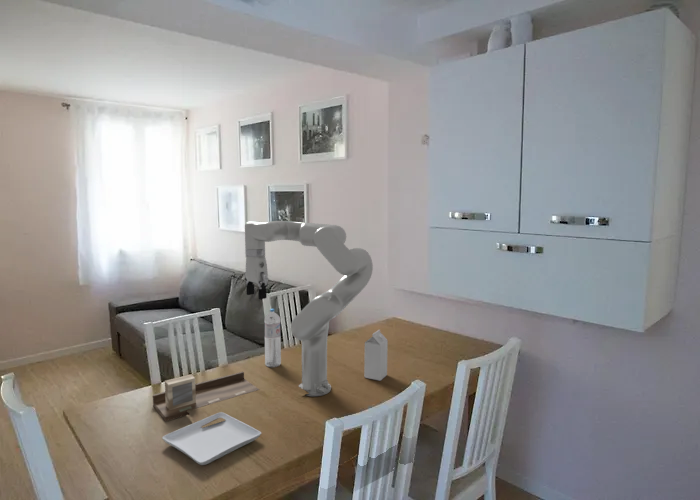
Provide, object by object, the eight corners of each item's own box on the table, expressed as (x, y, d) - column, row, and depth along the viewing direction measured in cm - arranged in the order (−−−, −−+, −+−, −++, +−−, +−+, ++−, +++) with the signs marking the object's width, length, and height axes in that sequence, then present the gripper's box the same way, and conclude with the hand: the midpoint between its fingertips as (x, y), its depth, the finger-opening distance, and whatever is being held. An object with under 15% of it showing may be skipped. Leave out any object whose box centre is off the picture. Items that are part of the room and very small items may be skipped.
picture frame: (196, 402, 157) (195, 378, 156) (169, 410, 151) (168, 384, 150) (191, 398, 160) (190, 374, 159) (165, 405, 154) (164, 380, 153)
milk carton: (364, 377, 183) (364, 332, 181) (371, 371, 189) (372, 328, 187) (380, 381, 180) (380, 335, 177) (387, 375, 186) (387, 330, 184)
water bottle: (272, 369, 191) (271, 312, 188) (261, 365, 195) (260, 309, 192) (284, 364, 197) (283, 308, 194) (273, 360, 201) (272, 306, 198)
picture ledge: (259, 393, 168) (259, 383, 167) (165, 421, 147) (165, 409, 146) (243, 381, 179) (242, 371, 178) (153, 405, 158) (152, 394, 157)
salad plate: (221, 419, 149) (221, 409, 148) (263, 442, 136) (263, 431, 135) (160, 447, 133) (160, 436, 132) (201, 475, 119) (201, 463, 119)
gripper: (275, 254, 170) (276, 299, 172) (253, 250, 183) (254, 291, 185) (257, 256, 165) (258, 301, 167) (236, 252, 178) (237, 294, 180)
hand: (256, 296), depth 176 cm, fingers open, 9 cm apart
